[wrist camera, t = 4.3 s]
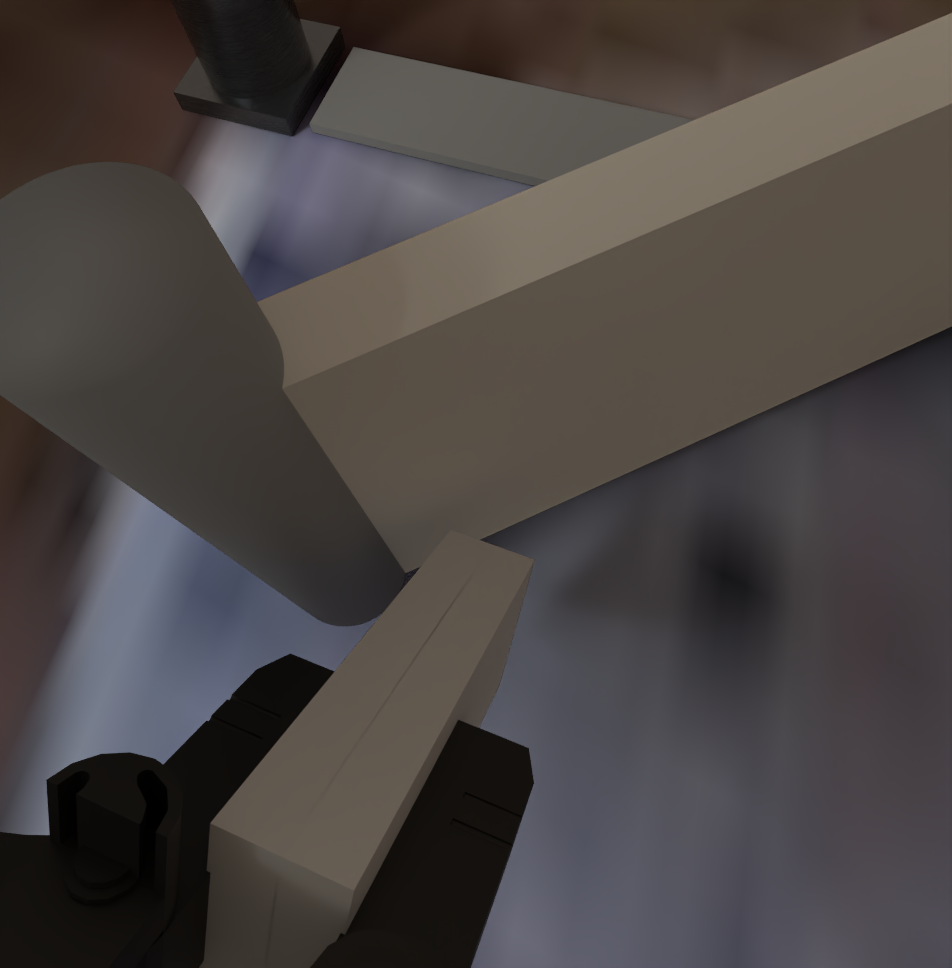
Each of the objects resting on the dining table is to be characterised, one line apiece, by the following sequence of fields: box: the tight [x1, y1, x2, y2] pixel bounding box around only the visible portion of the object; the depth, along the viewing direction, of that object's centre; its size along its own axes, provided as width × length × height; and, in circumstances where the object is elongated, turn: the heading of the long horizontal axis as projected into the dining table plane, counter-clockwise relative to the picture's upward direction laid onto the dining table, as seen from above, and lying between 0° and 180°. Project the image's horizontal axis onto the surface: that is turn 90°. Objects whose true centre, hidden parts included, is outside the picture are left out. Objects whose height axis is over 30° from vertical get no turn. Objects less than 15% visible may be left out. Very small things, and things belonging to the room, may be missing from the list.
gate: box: [0, 13, 952, 626], centre depth 12 cm, size 17×2×10 cm, turn 114°
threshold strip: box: [309, 47, 693, 186], centre depth 20 cm, size 17×3×1 cm, turn 69°
